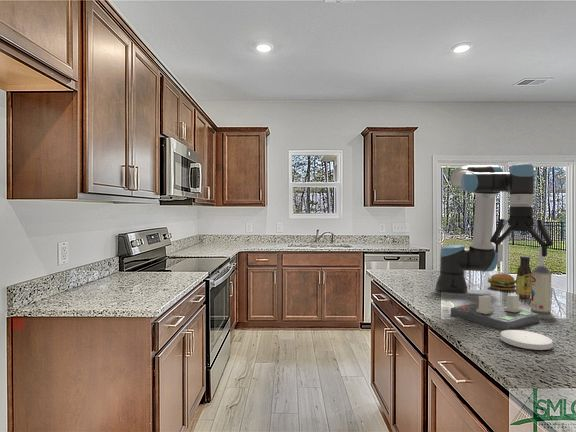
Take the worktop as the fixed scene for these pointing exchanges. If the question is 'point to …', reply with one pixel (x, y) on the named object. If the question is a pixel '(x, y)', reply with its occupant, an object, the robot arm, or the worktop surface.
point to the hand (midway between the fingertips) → (519, 263)
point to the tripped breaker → (485, 305)
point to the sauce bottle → (524, 278)
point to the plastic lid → (526, 339)
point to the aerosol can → (541, 290)
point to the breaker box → (495, 316)
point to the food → (502, 282)
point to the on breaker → (512, 303)
